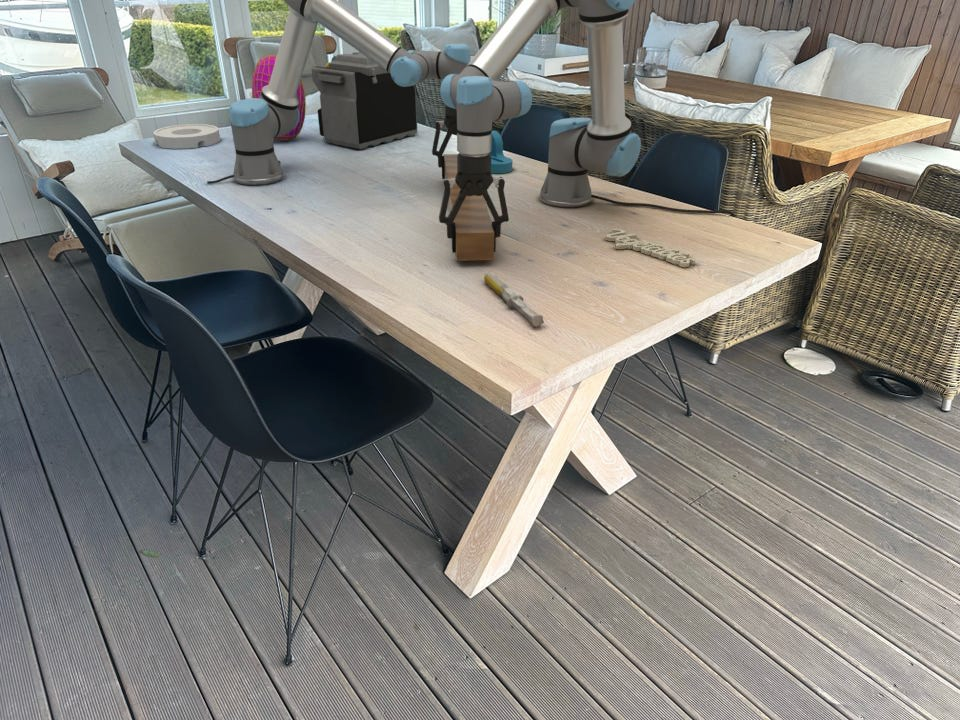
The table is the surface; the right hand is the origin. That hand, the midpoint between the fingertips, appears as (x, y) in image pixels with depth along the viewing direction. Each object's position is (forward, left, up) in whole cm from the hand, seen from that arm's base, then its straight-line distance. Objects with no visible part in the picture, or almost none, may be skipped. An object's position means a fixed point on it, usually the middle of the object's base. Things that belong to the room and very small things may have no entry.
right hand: (473, 250), depth 162 cm
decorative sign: (-35, -24, -2) cm, 43 cm away
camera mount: (+31, -77, -2) cm, 83 cm away
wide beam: (+16, -27, -1) cm, 31 cm away
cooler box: (+90, -93, -2) cm, 129 cm away
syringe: (-17, +18, -2) cm, 25 cm away
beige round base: (+148, -57, -2) cm, 158 cm away
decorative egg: (+117, -76, -2) cm, 140 cm away
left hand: (+31, -53, 0) cm, 62 cm away
